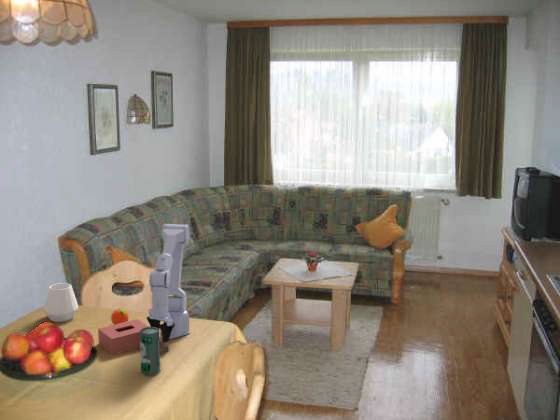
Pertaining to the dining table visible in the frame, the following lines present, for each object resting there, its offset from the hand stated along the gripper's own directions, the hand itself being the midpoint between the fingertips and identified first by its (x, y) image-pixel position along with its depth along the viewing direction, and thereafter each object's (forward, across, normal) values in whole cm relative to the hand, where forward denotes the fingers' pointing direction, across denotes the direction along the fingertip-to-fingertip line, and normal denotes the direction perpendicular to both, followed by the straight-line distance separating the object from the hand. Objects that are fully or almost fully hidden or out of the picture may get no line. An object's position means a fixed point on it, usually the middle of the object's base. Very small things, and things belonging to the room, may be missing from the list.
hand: (160, 338), depth 207 cm
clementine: (+6, -32, -1) cm, 33 cm away
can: (+6, +11, -10) cm, 16 cm away
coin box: (+6, -15, -7) cm, 17 cm away
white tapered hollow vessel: (+6, -55, -17) cm, 58 cm away
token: (+6, 0, 0) cm, 6 cm away
